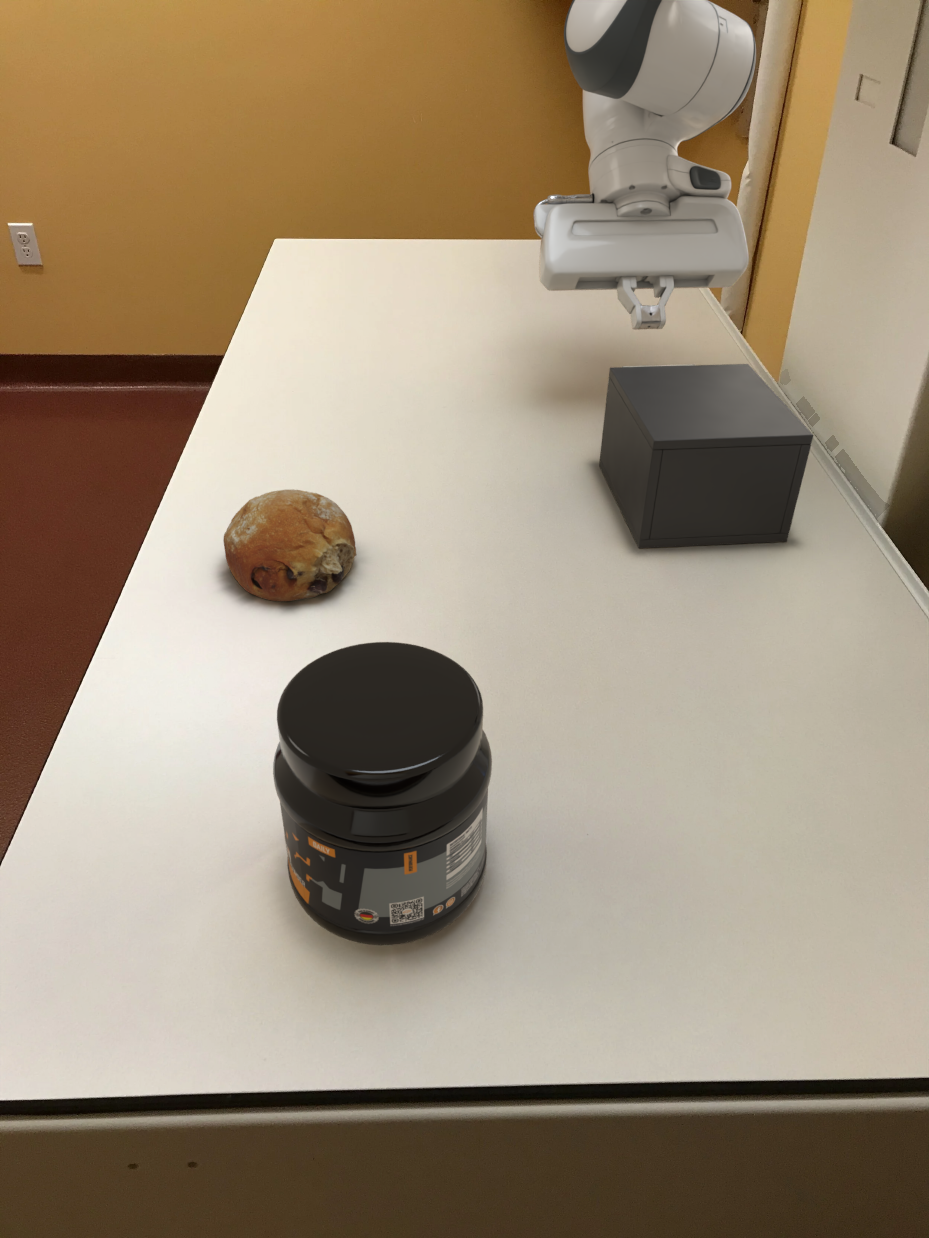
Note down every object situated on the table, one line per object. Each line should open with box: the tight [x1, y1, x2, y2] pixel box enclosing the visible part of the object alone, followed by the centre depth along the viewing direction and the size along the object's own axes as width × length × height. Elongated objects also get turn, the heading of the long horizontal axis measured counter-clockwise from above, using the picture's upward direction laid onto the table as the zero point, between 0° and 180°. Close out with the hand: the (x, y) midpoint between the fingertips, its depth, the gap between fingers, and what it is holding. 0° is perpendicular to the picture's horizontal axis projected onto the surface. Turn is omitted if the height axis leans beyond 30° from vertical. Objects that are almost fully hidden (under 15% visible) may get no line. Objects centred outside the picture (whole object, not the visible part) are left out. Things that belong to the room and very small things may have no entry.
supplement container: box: [272, 641, 493, 947], centre depth 48 cm, size 10×10×12 cm
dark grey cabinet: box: [598, 363, 814, 549], centre depth 82 cm, size 15×13×10 cm
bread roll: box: [223, 488, 357, 602], centre depth 74 cm, size 10×10×8 cm
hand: (649, 327), depth 92 cm, fingers closed
